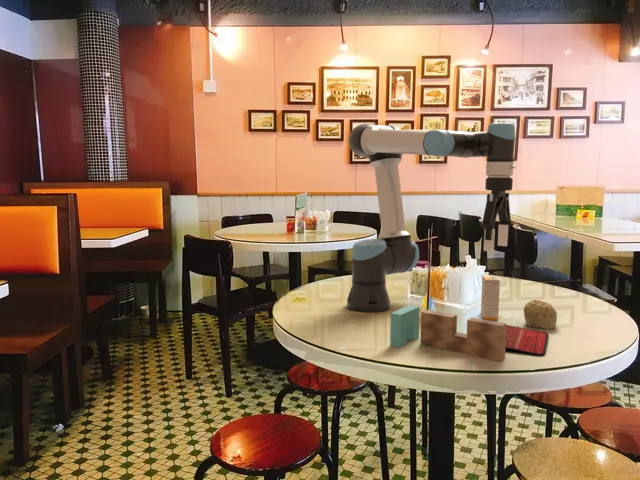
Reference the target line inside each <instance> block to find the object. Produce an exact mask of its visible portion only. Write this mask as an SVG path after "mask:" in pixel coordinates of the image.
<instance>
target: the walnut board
mask: <svg viewBox="0 0 640 480" xmlns="http://www.w3.org/2000/svg"><path fill="white" fill-rule="evenodd" d="M506 325H508V323H506V322H501V321H496V320H488V319H483V318H476V317H470V318H468V319H467V321H466V333H464V332H459V331H457V329H458V328H457V327H458V314H453V313H446V312H442V311H435V310H431V309H425V310H422V311H421V312H420V345H423V346H429V347H433V348H437V349H442V350H447V351H451V352H456V353H459V354H460V353H461V354H465V355H470V356H475V357H478V358H483V359H489V360H492V361H493V360H494V361H497V362H502V361H503V360H505V359H506V352H505V347H506Z"/></svg>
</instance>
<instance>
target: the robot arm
mask: <svg viewBox="0 0 640 480" xmlns="http://www.w3.org/2000/svg"><path fill="white" fill-rule="evenodd" d="M515 143H516V127H515V125H514V124H513V123H511V122H493V123H490V124H489V125H488V126H487V130H485V131H459V130H451V129H450V130H449V129H442V128H441V129H440V128H438V129H400V128H398V127H396V126H393V125H389V124H385V125H383V124H371V123H362V124H359V125H356V126H355V127H354V128H353V129H352V130H351V131H350V133H349V135H348V146H349V148H350V150H351V151H352V152H353V154H355V155H356V156H357V157H363V158H369V165H370V166H371V167H372V168H374V172H375V173H374V175H375V183H376V190H377V193H376V194H377V199H378V200H377V201H378V208H379V210H378V211H379V217H380V225H381V226H380V227H381V234H380V236H379V237H378V238H371V239H362V240H359V241H357V242H355V243H354V244H353V245H352V253H351V265H352V266H351V269H352V270H351V287H350V290H349V293H348V295H347V296H348V297H347V299H346V307H347V308H348V309H350V310H352V311H356V312H365V313H376V312H377V313H378V312H383V311H388V310H389V309H390V308H391V300H390V296H389V292H388V289H387V286H386V276H387V275H388V276H389V275H394V274H401V273H402V274H404V273H406V272H409V271H411V270H413V269H414V268H415V267H416V265H417V264H418V262H419V260H420V249H419V247H418V244H416V242H415V241H414V240H412V239H411V238H412V237H411V233H410V232H408V230H406V223H405V213H404V206H403V199H402V198H403V197H402V188H401V179H400V171H399V164H401V162H402V159H403V158H402V156H403V155H419V156H420V155H421V156H434V157H454V158H455V157H457V158H467V159H468V158H481V157H482V158H483V157H484V158H486V163H485V166H486V167H485V175H486V176H487V177H486V178H485V186H484V187H485V190H486V191H491V193H487V194H486V203H485V208H484V212H483V217H482V222H481V225H480V226H481V229H484V230H483V231H484V233H483V234H484V235H483V252H493V253H494V251H495V236H496V235H495V234H496V232H495V231H496V229H495V228H494V227H495V224H496V221H497V217H498V220H499V224H498V230H497V231H498V233H497V246H498V247H499V246H501V247H508V240H509V239H508V237H509V225H510V226H511V225H512V219H511V210H510V209H511V207H510V193H509V192H507V191H510V192H511V191H512V190H513V185H514V184H513V183H514V182H513V181H514V180H513V177H511V176H513V175H514V169H515V168H516V165H514V157H515V156H514V155H515Z"/></svg>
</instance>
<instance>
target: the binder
mask: <svg viewBox="0 0 640 480" xmlns="http://www.w3.org/2000/svg"><path fill="white" fill-rule="evenodd" d="M549 335H550V334H549V333H548V332H546V331H541V330H535V329H530V328H525V327H521V326H520V327H519V326H514V325H510V324H506V347H505V353H511V354H512V353H513V354H519V355H527V356H533V357H544V356H545V355H546V351H547V346H548V341H549Z"/></svg>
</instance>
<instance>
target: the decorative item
mask: <svg viewBox="0 0 640 480" xmlns="http://www.w3.org/2000/svg"><path fill="white" fill-rule="evenodd" d="M523 313H524V314H523V316H524V321H525V324H526V325H527V326H529V327H530V328H532V327H533V328H535V329H537V328H542V329H546V330H552V329H555V328H556V325H557V320H558V316H557V315H558V314H557V311H556V309H555V307H554V306H553V305H552V304H550V303H549V302H546V301H541V300H537V299H532V300H530V301H529V302H526V304H525V305H524V307H523Z"/></svg>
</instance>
